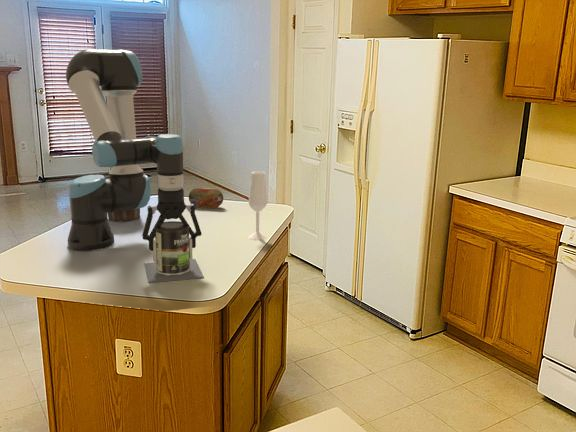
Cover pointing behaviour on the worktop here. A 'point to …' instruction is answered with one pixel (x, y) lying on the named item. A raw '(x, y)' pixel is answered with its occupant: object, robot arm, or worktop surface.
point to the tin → (206, 197)
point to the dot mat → (156, 277)
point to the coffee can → (172, 248)
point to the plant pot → (124, 214)
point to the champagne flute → (257, 199)
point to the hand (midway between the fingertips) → (172, 259)
